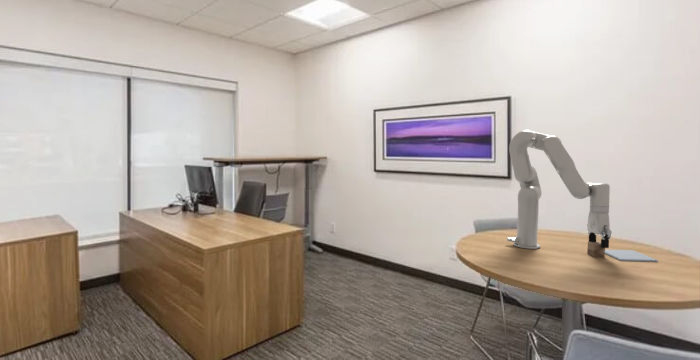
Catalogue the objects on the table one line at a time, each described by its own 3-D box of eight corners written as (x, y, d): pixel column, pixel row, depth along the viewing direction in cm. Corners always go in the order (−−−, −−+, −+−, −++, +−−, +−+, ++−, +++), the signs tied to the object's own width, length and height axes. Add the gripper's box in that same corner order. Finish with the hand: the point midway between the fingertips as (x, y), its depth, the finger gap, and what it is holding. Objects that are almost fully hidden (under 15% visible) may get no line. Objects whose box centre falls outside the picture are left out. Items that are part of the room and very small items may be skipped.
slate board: (620, 260, 166) (620, 259, 166) (598, 251, 182) (598, 249, 182) (657, 261, 165) (657, 260, 165) (632, 251, 181) (633, 250, 181)
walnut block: (593, 256, 172) (594, 244, 172) (587, 253, 177) (587, 241, 176) (604, 257, 172) (605, 244, 171) (598, 254, 177) (598, 241, 176)
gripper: (580, 206, 181) (580, 241, 182) (602, 212, 164) (601, 249, 165) (596, 206, 181) (595, 240, 182) (619, 212, 163) (618, 249, 165)
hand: (598, 245), depth 173 cm, fingers open, 9 cm apart
